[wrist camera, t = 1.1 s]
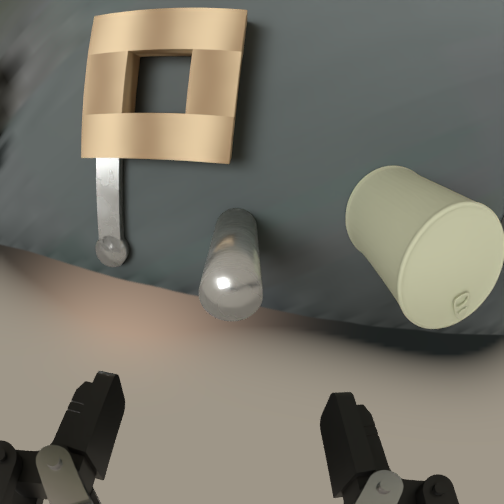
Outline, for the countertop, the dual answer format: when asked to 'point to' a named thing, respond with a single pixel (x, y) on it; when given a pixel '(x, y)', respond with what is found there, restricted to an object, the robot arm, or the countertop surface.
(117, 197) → the bar
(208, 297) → the pin
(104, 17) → the socket block
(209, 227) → the countertop surface
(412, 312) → the can
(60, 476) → the robot arm
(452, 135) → the countertop surface
